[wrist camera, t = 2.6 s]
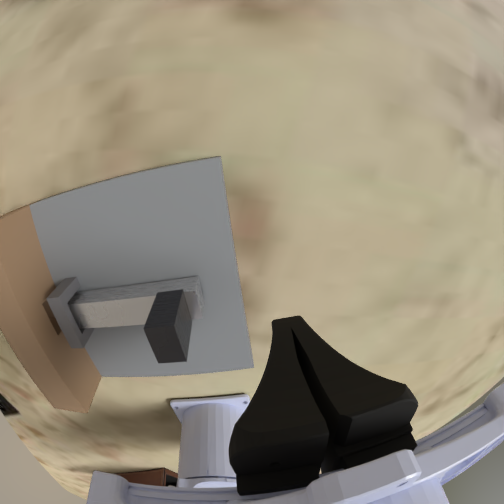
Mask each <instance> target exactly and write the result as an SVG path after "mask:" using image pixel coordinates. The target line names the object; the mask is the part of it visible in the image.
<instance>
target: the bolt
mask: <svg viewBox="0 0 504 504" xmlns="http://www.w3.org/2000/svg"><path fill="white" fill-rule="evenodd" d="M67 304H68V306H69V309H70V311H71V313H72V315H73V317H74V319H75V321H76V323H77V325H78V327H79V329H81V328H101V327H117V326H131V325H144V324H145V326H144V328H143V329H144V332H145V334H146V336H147V339H148V341H149V344H150V346H151V348H152V350H153V353H154V355H155V357H156V359H157V362H158V363H175V362H187V357H188V349H189V342H190V335H191V329H192V320H194V319H202V318H203V311H204V299H203V295H202V290H201V286H200V282H199V278H198V276H196V277H189V278H182V279H175V280H167V281H160V282H152V283H144V284H137V285H129V286H121V287H113V288H105V289H97V290H89V291H80V292H76V293H75V294H74V295H73V296H72V298H71V299H70V300H69V301H68V303H67Z"/></svg>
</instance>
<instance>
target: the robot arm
mask: <svg viewBox="0 0 504 504" xmlns="http://www.w3.org/2000/svg"><path fill="white" fill-rule="evenodd" d="M272 331H273V335H272V343H271V350H270V354H269V358H268V362H267V365H266V368H265V371H264V374H263V377H262V379H261V382H260V384H259V386H258V388H257V390H256V392H255V394H254V396H253V398H252V400H251V401H250V398H249V396H248V395H246V394H241V395H233V396H223V397H212V398H198V399H178V400H171V401H170V405H171V407H172V409H173V411H174V412H175V414H176V416H177V417H178V419H179V421H180V422H181V424H182V429H181V441H180V454H179V468H178V480H177V485H176V487H175V486H171V485H169V486H168V487H165V486H154V485H144V484H137V483H130V482H128V481H127V480H126V479H125V478H123V477H121V476H119V475H116V474H111V473H105V472H101V471H96V470H95V471H93V475H92V480H91V484H90V489H89V494H88V499H87V504H449V502H448V499H447V497H446V495H445V493H444V490H443V488H442V485H443V484H445V483H447V482H448V481H450V480H451V479H453V478H454V477H456V476H457V475H459V474H460V473H462V472H463V471H464V470H466V469H468V468H469V467H470V466H472V465H473V464H475V463H476V462H477V461H479V460H480V459H481V458H482V457H484V456H485V455H486V454H488V453H489V452H490V451H491V450H493V449H494V448H495V447H496V446H498V445H499V444H500V443H501V442H502V441H503V440H504V383H502V384H501V385H499V386H498V387H497V388H495V389H494V390H493V391H492V392H490V394H489V395H488V396H487V397H486V399H485V401H484V403H482V404H481V405H480V406H478V407H476V408H475V409H473V410H472V411H470V412H469V413H467V414H465V415H464V416H462V417H460V418H459V419H457V420H455V421H454V422H452V423H450V424H448V425H447V426H445V427H443V428H441V429H439V430H437V431H435V432H433V433H431V434H429V435H427V436H425V437H423V438H421V439H419V440H417V441H415V440H414V438H413V436H412V434H411V432H412V430H413V429H412V426H411V425H410V421H411V419H412V417H413V416H414V414H415V412H416V410H417V407H418V401H417V400H416V398H415V396H414V395H413V393H412V392H411V391H410V389H409V388H408V387H407V386H406V384H402V383H399V382H396V381H392V380H389V379H386V378H384V377H381V376H379V375H376V374H374V373H372V372H370V371H368V370H366V369H364V368H362V367H360V366H358V365H356V364H355V363H353V362H351V361H350V360H348V359H347V358H345V357H344V356H342V355H341V354H340V353H338V352H337V351H336V350H335V349H333V348H332V347H331V346H330V345H328V344H327V343H326V342H325V341H324V340H323V339H322V338H321V337H320V336H319V335H318V334H317V333H316V332H315V331H314V330H313V329H312V328H311V327H310V326H309V325H308V324H307V323H306V322H305V320H304V319H303V318H302V317H301V316H294V317H288V318H282V319H276V320H273V321H272ZM320 468H321V472H322V474H319V472H320Z"/></svg>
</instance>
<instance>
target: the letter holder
mask: <svg viewBox="0 0 504 504" xmlns="http://www.w3.org/2000/svg"><path fill="white" fill-rule="evenodd" d="M116 475H119V476H121V477H123V478H125V479H126V480H127V481H128V482H130V483H137V484H144V485H154V486H165V487H168V486H169V485H171V486H175V487H176V485H177V480H178V474H177V473H175V472H173V471H170V470H168V469H166V468H161V469H155V470H148V471H139V472H129V473H116Z"/></svg>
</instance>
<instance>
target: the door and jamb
mask: <svg viewBox="0 0 504 504" xmlns="http://www.w3.org/2000/svg"><path fill="white" fill-rule="evenodd" d="M196 276H198V278H199V282H200V286H201V290H202V295H203V299H204V311H203V318H202V319H194V320H192V329H191V335H190V342H189V349H188V357H187V362H175V363H158V362H157V359H156V357H155V355H154V353H153V350H152V348H151V346H150V344H149V341H148V339H147V336H146V334H145V332H144V329H143V328H144V326H145V324H144V325H131V326H117V327H101V328H81V329H79V327H78V325H77V323H76V321H75V319H74V317H73V315H72V313H71V311H70V309H69V306H68V304H67V303H68V301H69V300H70V299H71V298H72V296H73V295H74V294H75V293H76V292H80V291H89V290H97V289H105V288H113V287H121V286H129V285H137V284H144V283H152V282H160V281H167V280H175V279H182V278H189V277H196ZM0 329H1V331H2V332H3V334H4V336H5V338H6V340H7V341H8V343H9V345H10V346H11V348H12V350H13V351H14V353H15V355H16V356H17V358H18V359H19V361H20V362H21V364H22V365H23V367H24V368H25V370H26V371H27V373H28V374H29V376H30V377H31V378H32V380H33V381H34V383H35V384H36V385H37V387H38V388H39V389H40V391H41V392H42V393H43V394H44V396H45V397H46V398H47V400H48V401H49V402H50V403H51V404H52V406H53V407H54V408H57V409H63V410H69V411H75V412H82V413H88V411H89V408H90V405H91V403H92V400H93V397H94V395H95V392H96V390H97V387H98V384H99V382H100V379H101V377H102V376H104V377H150V376H174V375H190V374H202V373H213V372H223V371H232V370H240V369H247V368H254V364H253V357H252V351H251V345H250V339H249V333H248V327H247V322H246V316H245V310H244V304H243V298H242V292H241V285H240V279H239V273H238V267H237V261H236V254H235V248H234V242H233V235H232V229H231V222H230V216H229V209H228V202H227V196H226V189H225V182H224V175H223V168H222V161H221V156H216V157H210V158H204V159H198V160H193V161H187V162H182V163H176V164H171V165H166V166H162V167H157V168H152V169H148V170H143V171H139V172H135V173H131V174H127V175H123V176H119V177H115V178H111V179H107V180H104V181H100V182H96V183H93V184H89V185H86V186H83V187H79V188H76V189H73V190H70V191H66V192H63V193H60V194H57V195H54V196H51V197H48V198H46V199H43V200H40V201H37V202H34V203H32V204H29V205H26V206H24V207H21V208H18V209H16V210H13V211H11V212H9V213H7V214H5V215H3V216H1V217H0Z"/></svg>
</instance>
